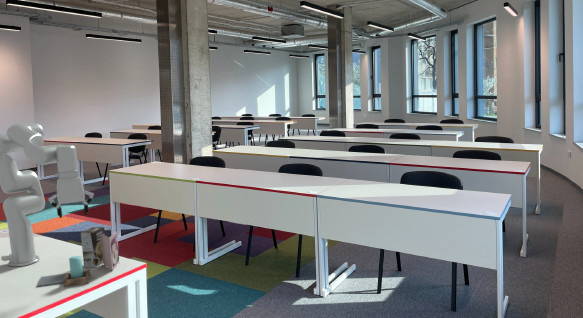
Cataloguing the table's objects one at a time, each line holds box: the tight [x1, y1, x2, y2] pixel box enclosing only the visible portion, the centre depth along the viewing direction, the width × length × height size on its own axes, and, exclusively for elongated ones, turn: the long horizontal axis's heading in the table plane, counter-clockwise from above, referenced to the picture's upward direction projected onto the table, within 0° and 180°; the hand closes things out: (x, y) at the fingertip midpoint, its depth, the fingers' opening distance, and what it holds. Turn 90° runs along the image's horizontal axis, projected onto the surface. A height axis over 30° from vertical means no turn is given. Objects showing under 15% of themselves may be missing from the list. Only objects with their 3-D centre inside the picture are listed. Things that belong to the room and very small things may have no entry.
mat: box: [36, 272, 67, 288], centre depth 198 cm, size 10×10×1 cm
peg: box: [68, 255, 84, 279], centre depth 196 cm, size 5×5×10 cm
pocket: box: [63, 269, 91, 288], centre depth 197 cm, size 9×9×2 cm
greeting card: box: [100, 230, 120, 272], centre depth 211 cm, size 11×7×15 cm, turn 5°
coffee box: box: [80, 226, 106, 268], centre depth 216 cm, size 9×6×16 cm
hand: (73, 215), depth 199 cm, fingers open, 9 cm apart
